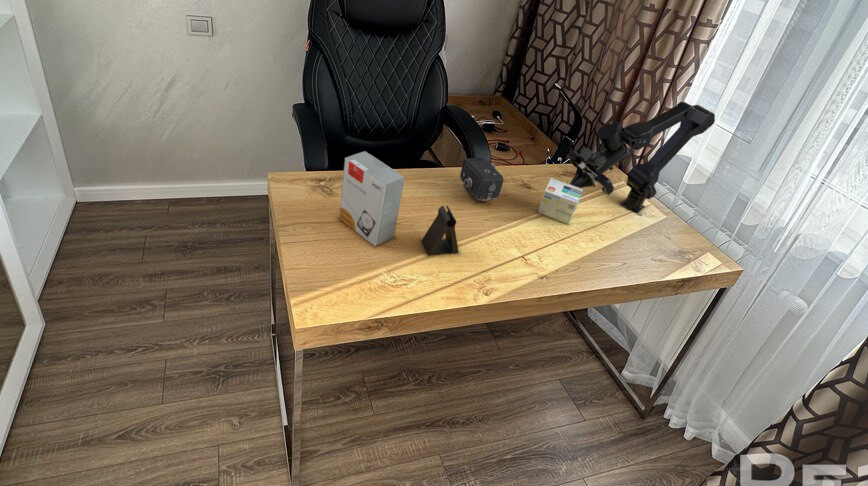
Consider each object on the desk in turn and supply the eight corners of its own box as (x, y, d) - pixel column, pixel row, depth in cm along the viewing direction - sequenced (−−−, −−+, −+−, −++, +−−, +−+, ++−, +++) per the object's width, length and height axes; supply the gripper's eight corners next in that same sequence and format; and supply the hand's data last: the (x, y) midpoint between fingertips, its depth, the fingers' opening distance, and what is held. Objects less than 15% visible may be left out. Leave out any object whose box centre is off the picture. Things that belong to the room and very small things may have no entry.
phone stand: (427, 255, 137) (435, 219, 130) (421, 241, 141) (428, 205, 135) (458, 253, 140) (468, 218, 133) (451, 239, 144) (460, 205, 137)
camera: (499, 207, 164) (478, 179, 174) (511, 180, 157) (488, 151, 167) (471, 211, 160) (450, 181, 170) (481, 182, 153) (460, 153, 162)
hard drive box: (337, 218, 143) (343, 156, 132) (358, 210, 148) (365, 149, 137) (375, 247, 136) (384, 184, 124) (395, 237, 141) (406, 175, 130)
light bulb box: (574, 211, 165) (584, 188, 156) (569, 225, 161) (578, 203, 152) (543, 199, 167) (550, 176, 159) (536, 213, 164) (544, 190, 155)
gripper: (582, 127, 159) (542, 159, 161) (621, 157, 146) (577, 191, 148) (592, 148, 167) (554, 179, 169) (631, 179, 153) (589, 211, 155)
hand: (568, 189), depth 160 cm, fingers closed
